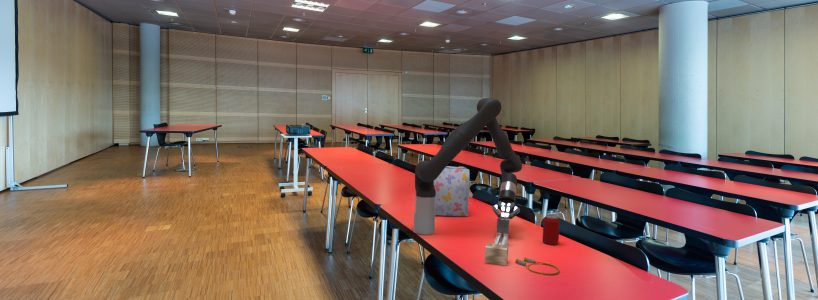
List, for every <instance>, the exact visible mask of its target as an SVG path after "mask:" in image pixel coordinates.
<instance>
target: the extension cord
mask: <svg viewBox="0 0 818 300" xmlns="http://www.w3.org/2000/svg"><path fill="white" fill-rule="evenodd" d="M515 263H516V264H518V265H520V266H525V268H526V269H528V270H529V271H530V272H531V273H534V274H538V275H542V276H556V275H558V274H560V268H559V267H558V266H556V265H554V264H551V263H547V262H541V261H536V260H535V259H532V258H527V257H524V258H523V260H522V259H519V258H516V259H515ZM527 263H529V264H528V265H527ZM537 264H542V265H543V266H544V265H545V266H550V267H553V268H554V269H556V270H557V272H553V273H550V272H549V273H548V272H540V271H536V270H532V269H530V266H533V265H537Z"/></svg>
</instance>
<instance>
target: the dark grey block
mask: <svg viewBox="0 0 818 300" xmlns="http://www.w3.org/2000/svg"><path fill="white" fill-rule="evenodd" d="M509 231H510V219H501V218H498V217H497V219H496V234H498V233H500V234H501V236H500V239H499V242H498V244H502V241H503V238H504V235H505V234H508V235H509V233H510V232H509Z"/></svg>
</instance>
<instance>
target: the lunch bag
mask: <svg viewBox="0 0 818 300" xmlns="http://www.w3.org/2000/svg"><path fill="white" fill-rule="evenodd" d="M434 188H435V190H436V201H435V216H438V217H439V216H446V217H468V216H469V196H470V169H468V168H466V167H465V166H450V165H449V166H448V165H447V166H446V167H445V169H444V170H443V171H442V172H441V174H440V175H439V176H438V177H437V179H436V180H434Z"/></svg>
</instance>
